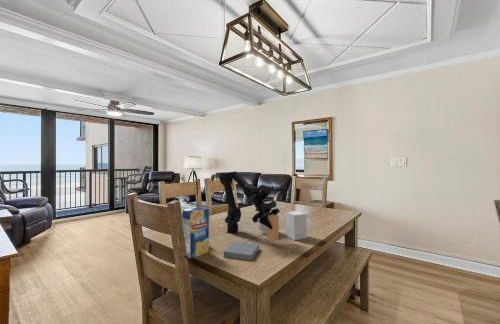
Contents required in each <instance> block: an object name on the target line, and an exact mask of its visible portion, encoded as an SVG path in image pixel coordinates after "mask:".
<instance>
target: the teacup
mask: <svg viewBox="0 0 500 324" xmlns="http://www.w3.org/2000/svg"><path fill="white" fill-rule="evenodd" d="M259 221H260V220H259V219H258V222H257V223H258V228H259V230H260V231H261V234H263V235H267V226H265V225H263V224H261V223H259Z"/></svg>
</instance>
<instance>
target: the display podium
mask: <svg viewBox="0 0 500 324" xmlns="http://www.w3.org/2000/svg"><path fill="white" fill-rule="evenodd" d="M259 250H260V244H257V243H256V244H255V243H247V242H239V241H233V242H232V243H231V244H230V245H229V246H228V247H226V249H225V250H224V251H223V258H231V259H236V260H237V259H238V260H244V261H245V260H246V261H252V260H253V259H254V257H255V256H256V254H257V253H258V252H259Z"/></svg>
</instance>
